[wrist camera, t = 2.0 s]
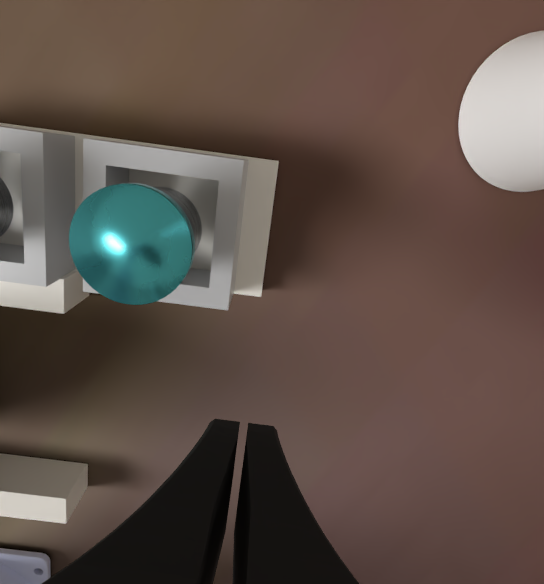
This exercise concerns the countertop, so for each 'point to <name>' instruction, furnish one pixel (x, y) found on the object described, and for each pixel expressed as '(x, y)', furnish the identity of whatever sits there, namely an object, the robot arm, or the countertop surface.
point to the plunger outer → (134, 241)
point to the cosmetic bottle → (507, 116)
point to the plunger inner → (5, 208)
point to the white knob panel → (70, 284)
